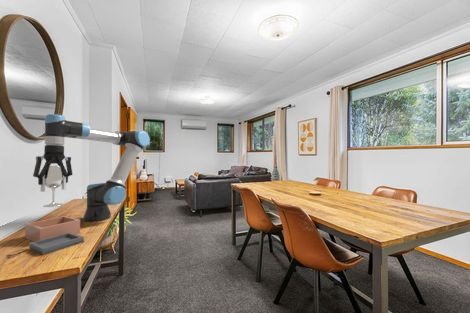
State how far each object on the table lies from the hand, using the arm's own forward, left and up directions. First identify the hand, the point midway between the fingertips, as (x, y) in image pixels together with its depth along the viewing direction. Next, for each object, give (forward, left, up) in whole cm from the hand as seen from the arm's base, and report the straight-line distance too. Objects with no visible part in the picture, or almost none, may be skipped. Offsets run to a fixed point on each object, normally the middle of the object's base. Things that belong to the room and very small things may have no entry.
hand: (53, 190), depth 104 cm
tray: (+4, +14, -23) cm, 28 cm away
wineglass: (0, 0, -8) cm, 8 cm away
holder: (-1, -3, -23) cm, 24 cm away
